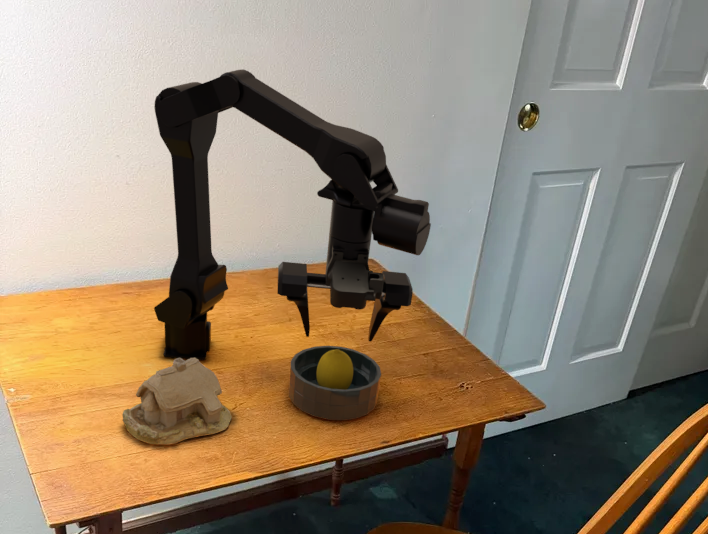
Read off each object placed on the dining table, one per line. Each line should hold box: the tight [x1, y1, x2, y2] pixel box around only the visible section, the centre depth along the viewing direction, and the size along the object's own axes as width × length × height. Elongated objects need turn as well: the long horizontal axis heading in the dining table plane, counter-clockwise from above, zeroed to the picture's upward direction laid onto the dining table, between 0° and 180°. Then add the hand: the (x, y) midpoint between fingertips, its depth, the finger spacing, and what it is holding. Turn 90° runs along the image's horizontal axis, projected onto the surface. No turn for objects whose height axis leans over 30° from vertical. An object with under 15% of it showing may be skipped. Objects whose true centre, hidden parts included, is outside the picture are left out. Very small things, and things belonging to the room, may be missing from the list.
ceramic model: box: [121, 357, 232, 445], centre depth 107 cm, size 14×11×10 cm
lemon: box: [317, 349, 353, 390], centre depth 119 cm, size 6×6×8 cm
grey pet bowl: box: [288, 345, 382, 421], centre depth 120 cm, size 14×14×6 cm
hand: (338, 338), depth 116 cm, fingers open, 9 cm apart
